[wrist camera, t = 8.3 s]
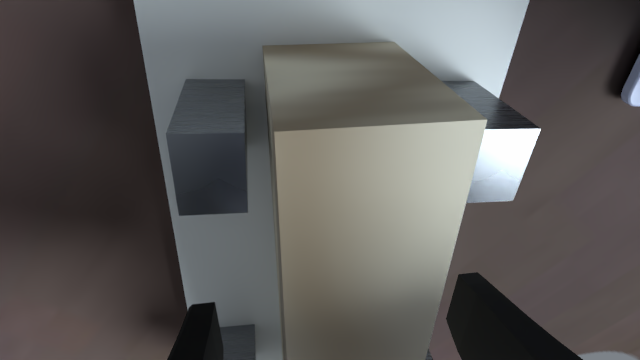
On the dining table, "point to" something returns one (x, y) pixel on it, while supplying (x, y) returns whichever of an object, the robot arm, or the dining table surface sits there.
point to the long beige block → (363, 196)
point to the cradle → (252, 130)
